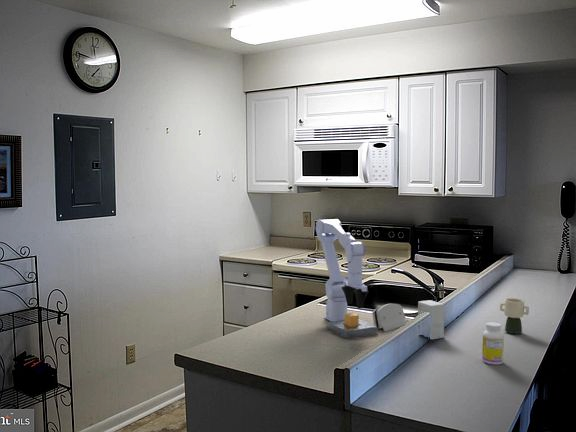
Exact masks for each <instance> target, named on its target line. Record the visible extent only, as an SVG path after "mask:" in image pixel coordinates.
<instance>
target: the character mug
mask: <svg viewBox="0 0 576 432" xmlns="http://www.w3.org/2000/svg"><path fill="white" fill-rule="evenodd" d="M503 306H504V308H503ZM499 310H500V311H501V312H504V315H505V316H506V321H505V326H504V331H505V332H507V333H510V334H520V333H522V332H523V327H522V320H521V318H523V317H524V315H527V316H528V315H529V313H530V307H529V306H527V305H525V300H523V299H521V298H516V297H515V298H514V297H513V298H511V297H509V298H504V302H500V304H499Z"/></svg>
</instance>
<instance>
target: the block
mask: <svg viewBox="0 0 576 432" xmlns="http://www.w3.org/2000/svg"><path fill="white" fill-rule="evenodd" d="M359 316H360V314H357V313H355V312H349V313H348V312H347V314H344V324H345V325H347V326H349V327H353V326H359V319H360V318H359Z"/></svg>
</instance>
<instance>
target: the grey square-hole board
mask: <svg viewBox="0 0 576 432" xmlns="http://www.w3.org/2000/svg"><path fill="white" fill-rule="evenodd" d="M327 330H329V332H332V333H334V334H336V335H338V336H340V337H342V338H344V339H346V340H347V339H354V338H355V339H356V338H361V337H366V336H367V337H368V336H373V335H378V329H377V326H375V325H374V323H373V324H372V323H370V322H367V321H366V320H362V319H360V318H359V326H353V327H349V326H347V325H345V324H344V320H340V321H328V322H327Z"/></svg>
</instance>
